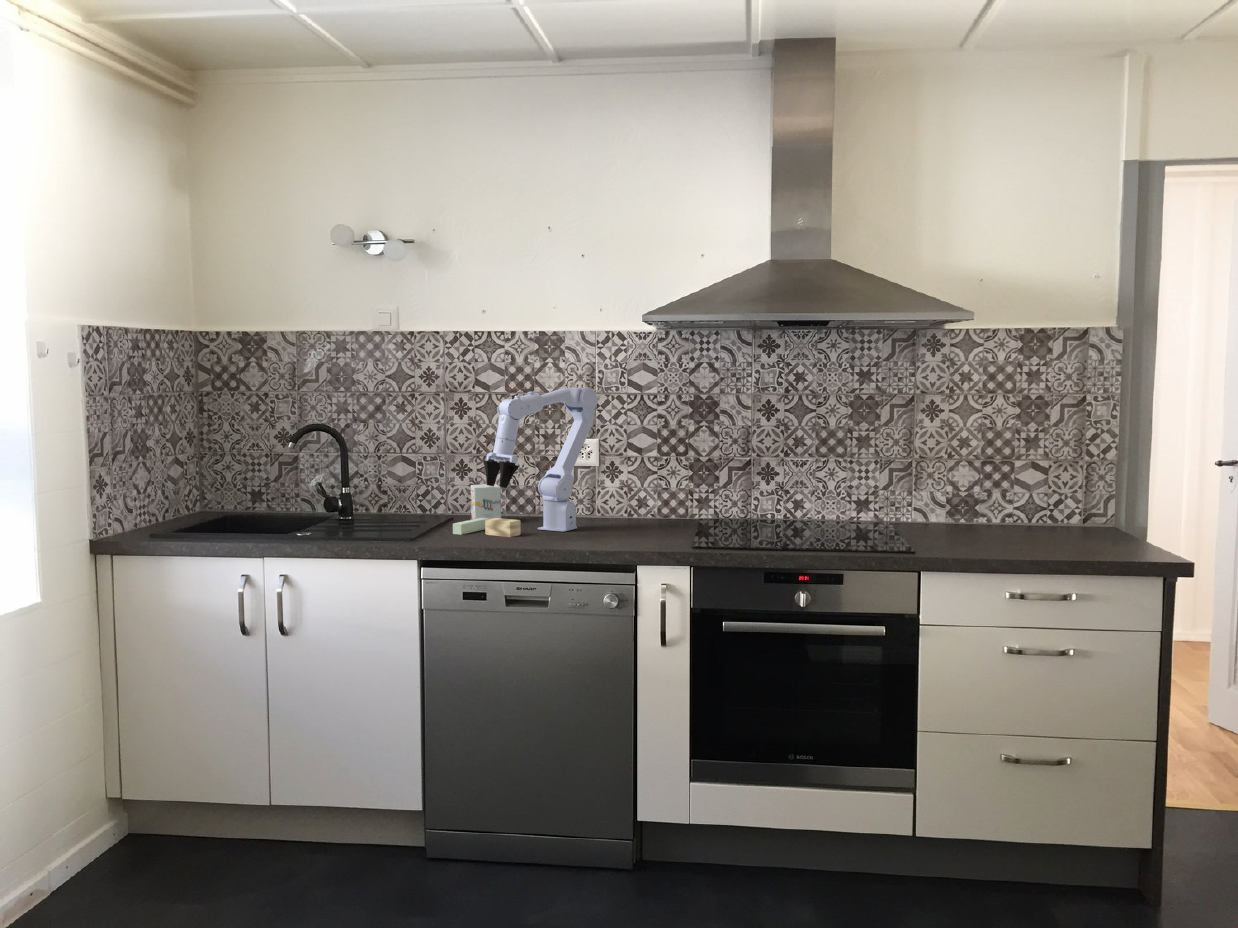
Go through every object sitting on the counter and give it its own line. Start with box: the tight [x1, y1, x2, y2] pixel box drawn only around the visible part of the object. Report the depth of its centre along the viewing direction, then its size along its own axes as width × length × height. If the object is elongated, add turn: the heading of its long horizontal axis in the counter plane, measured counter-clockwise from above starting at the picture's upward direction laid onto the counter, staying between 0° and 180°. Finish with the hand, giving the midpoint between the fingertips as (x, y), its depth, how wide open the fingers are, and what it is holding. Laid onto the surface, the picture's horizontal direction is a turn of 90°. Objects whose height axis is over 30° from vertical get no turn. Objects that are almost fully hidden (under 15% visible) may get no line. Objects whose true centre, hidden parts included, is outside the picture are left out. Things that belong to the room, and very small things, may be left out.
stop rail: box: [452, 518, 489, 536], centre depth 292 cm, size 3×14×3 cm, turn 152°
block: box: [484, 517, 522, 538], centre depth 286 cm, size 9×5×4 cm, turn 59°
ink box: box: [470, 483, 502, 520], centre depth 310 cm, size 9×9×12 cm
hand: (496, 486), depth 281 cm, fingers open, 7 cm apart
